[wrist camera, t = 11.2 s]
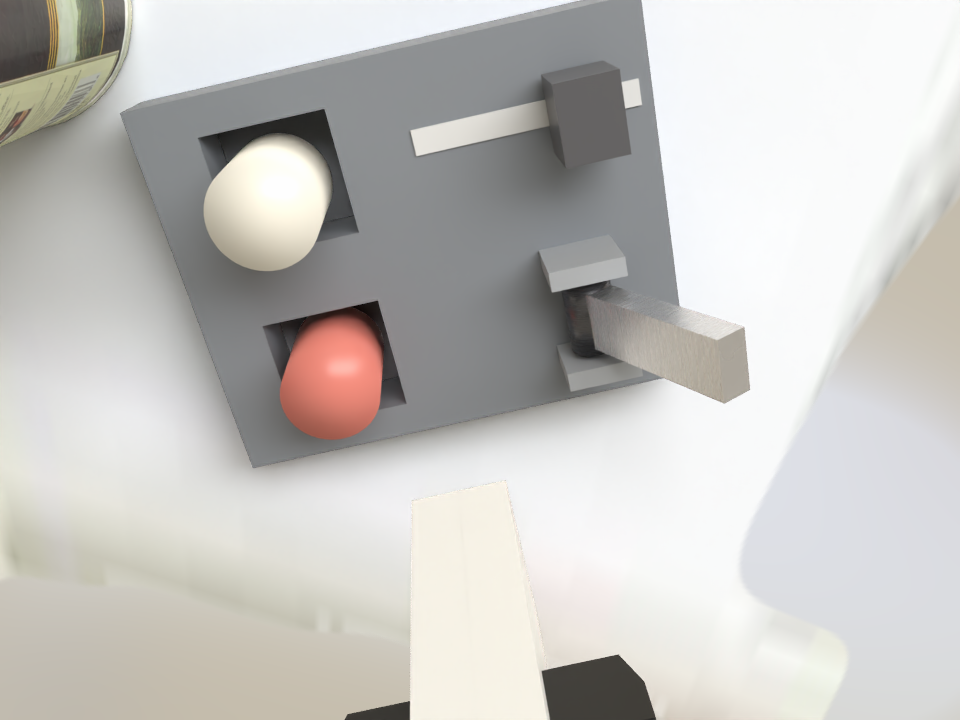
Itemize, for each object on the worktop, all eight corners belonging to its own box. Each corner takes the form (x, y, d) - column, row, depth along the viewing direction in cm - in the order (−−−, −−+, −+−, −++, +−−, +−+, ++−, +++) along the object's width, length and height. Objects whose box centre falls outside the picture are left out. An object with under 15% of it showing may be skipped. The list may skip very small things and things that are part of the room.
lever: (562, 348, 37) (716, 416, 30) (550, 282, 36) (707, 336, 29) (600, 330, 38) (759, 392, 31) (589, 266, 37) (752, 314, 29)
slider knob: (554, 152, 34) (566, 168, 32) (540, 74, 33) (551, 84, 31) (614, 138, 34) (631, 154, 32) (602, 60, 33) (619, 69, 30)
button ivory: (249, 241, 36) (225, 282, 32) (217, 145, 34) (186, 172, 30) (344, 220, 36) (334, 257, 31) (316, 122, 34) (301, 146, 30)
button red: (309, 394, 41) (296, 448, 36) (284, 316, 39) (266, 362, 35) (393, 376, 41) (391, 427, 36) (371, 296, 39) (365, 340, 34)
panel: (263, 435, 43) (241, 505, 37) (142, 101, 36) (93, 126, 30) (670, 346, 42) (707, 403, 37) (623, -10, 35) (660, -5, 30)
